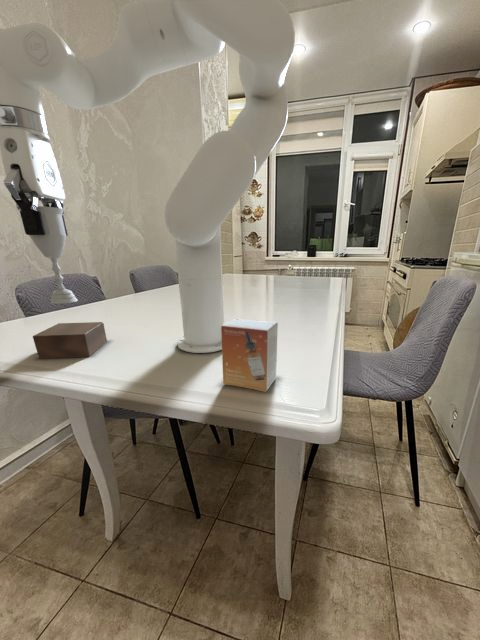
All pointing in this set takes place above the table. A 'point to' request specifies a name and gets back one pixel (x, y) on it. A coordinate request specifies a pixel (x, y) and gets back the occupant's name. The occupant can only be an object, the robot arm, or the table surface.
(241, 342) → the small box
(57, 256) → the chalice
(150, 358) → the table surface
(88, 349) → the walnut block
